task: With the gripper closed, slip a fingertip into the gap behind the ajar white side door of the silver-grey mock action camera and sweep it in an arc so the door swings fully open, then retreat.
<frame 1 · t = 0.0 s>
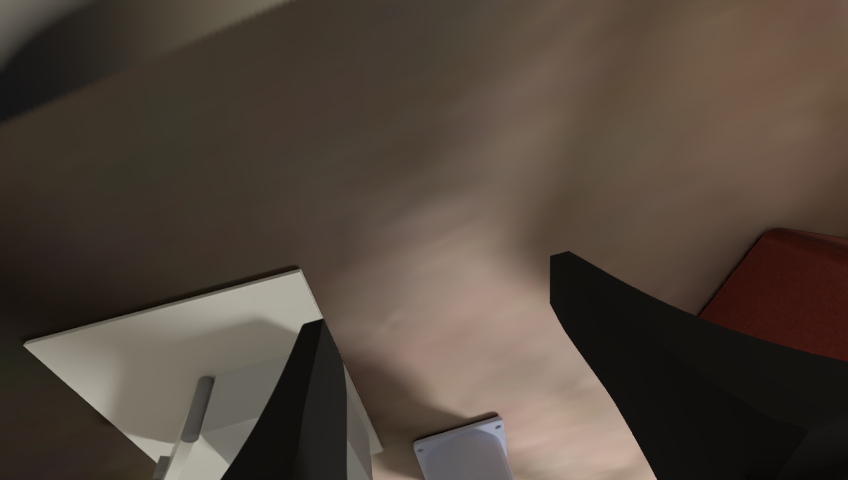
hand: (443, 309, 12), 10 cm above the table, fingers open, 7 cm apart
plant pot: (766, 295, 34), on the table
mat: (244, 406, 28), on the table
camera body: (301, 408, 29), resting on mat
side door: (180, 440, 25), point 2 cm above the table, hinge at 40.0°
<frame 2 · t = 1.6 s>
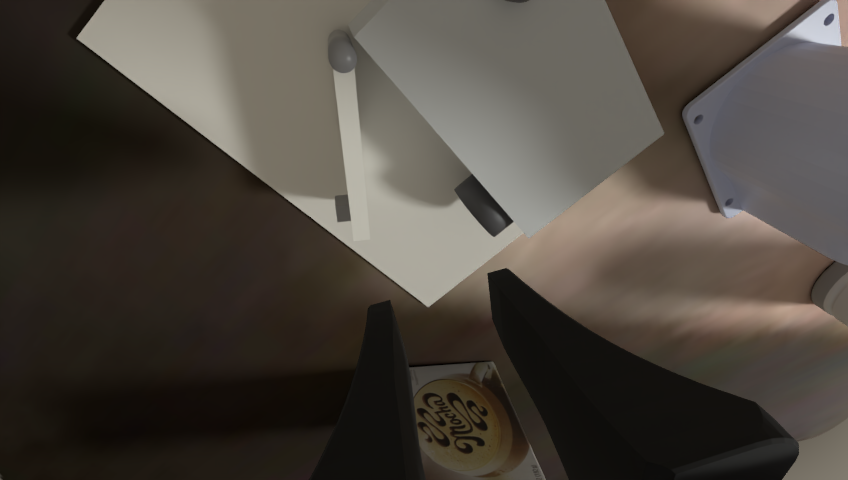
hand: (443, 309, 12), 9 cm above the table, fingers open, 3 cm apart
coffee box: (430, 389, 30), on the table
mat: (412, 99, 18), on the table
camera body: (493, 71, 18), resting on mat
travel mug: (841, 274, 33), on the table
side door: (344, 140, 16), point 2 cm above the table, hinge at 40.0°
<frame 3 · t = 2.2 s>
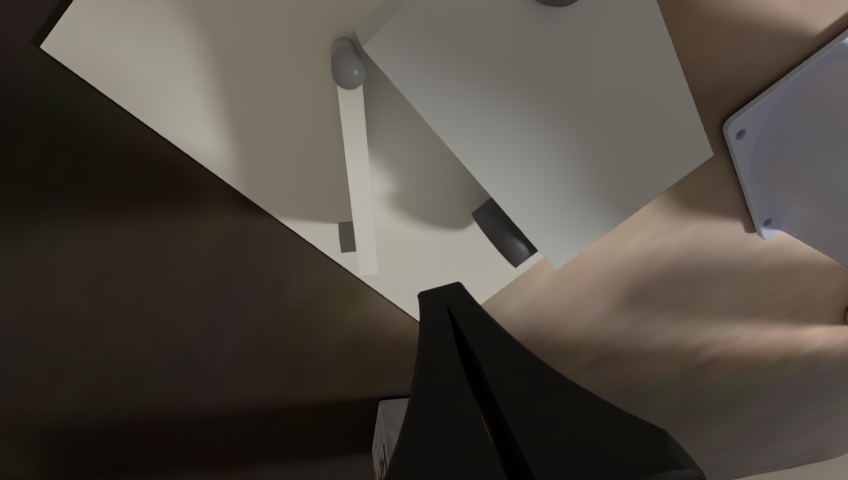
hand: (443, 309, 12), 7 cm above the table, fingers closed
coffee box: (438, 418, 28), on the table
mat: (425, 114, 16), on the table
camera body: (517, 82, 16), resting on mat
side door: (349, 162, 14), point 2 cm above the table, hinge at 40.0°
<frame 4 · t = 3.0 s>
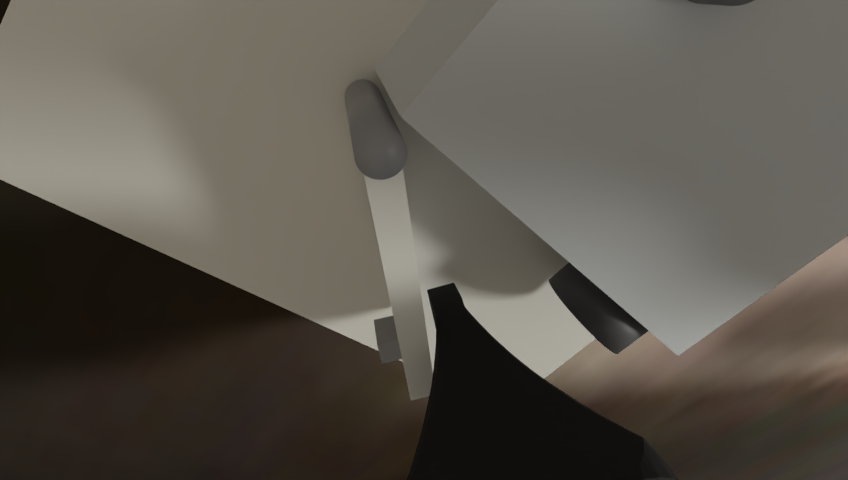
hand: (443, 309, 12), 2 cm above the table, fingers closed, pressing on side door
mat: (478, 162, 12), on the table
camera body: (603, 105, 11), resting on mat
side door: (384, 252, 10), point 2 cm above the table, hinge at 40.9°, touching gripper
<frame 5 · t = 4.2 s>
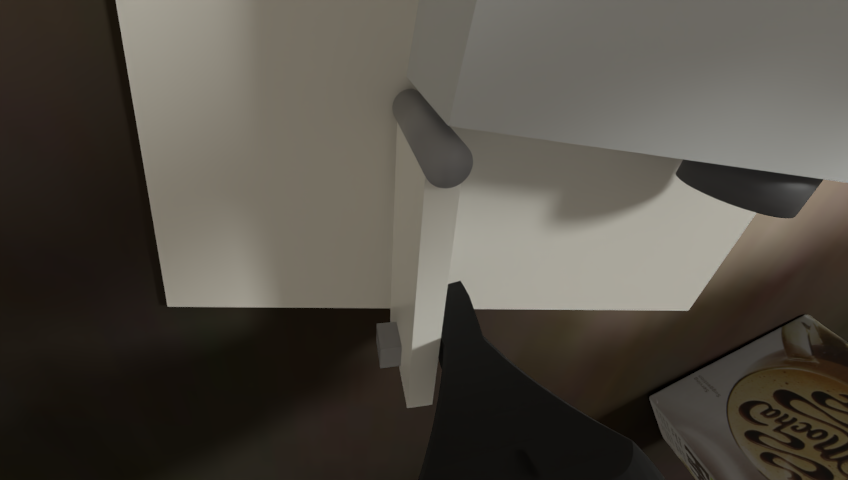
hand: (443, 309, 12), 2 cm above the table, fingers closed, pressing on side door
coffee box: (726, 378, 23), on the table
mat: (543, 98, 11), on the table
side door: (406, 258, 10), point 2 cm above the table, hinge at 82.8°, touching gripper
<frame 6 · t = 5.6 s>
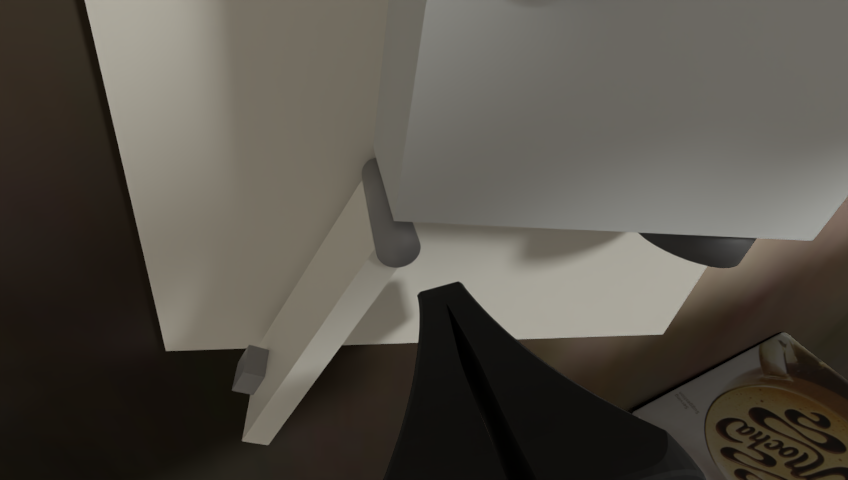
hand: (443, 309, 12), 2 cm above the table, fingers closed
coffee box: (709, 392, 23), on the table
mat: (504, 156, 12), on the table
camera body: (597, 37, 10), resting on mat
side door: (312, 299, 11), point 2 cm above the table, hinge at 114.8°
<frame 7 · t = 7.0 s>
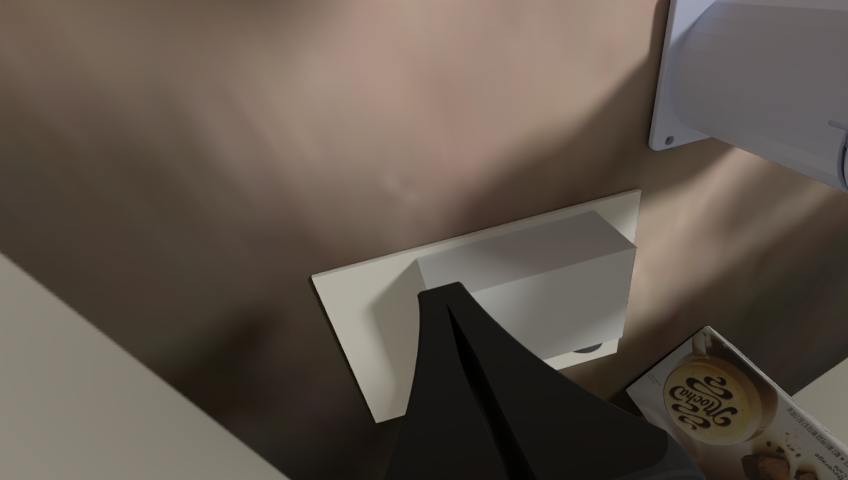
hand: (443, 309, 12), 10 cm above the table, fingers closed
coffee box: (678, 365, 36), on the table
mat: (490, 319, 28), on the table
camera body: (509, 278, 26), resting on mat
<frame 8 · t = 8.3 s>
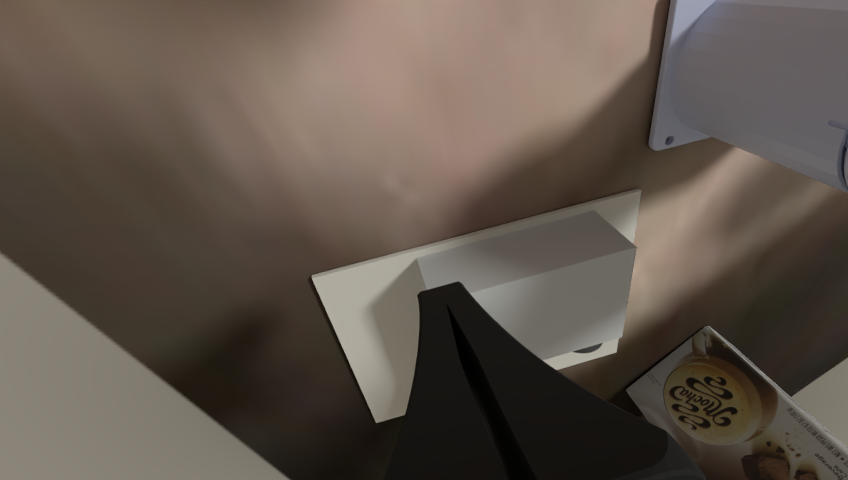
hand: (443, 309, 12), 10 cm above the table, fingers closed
coffee box: (678, 365, 36), on the table
mat: (490, 319, 28), on the table
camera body: (509, 278, 26), resting on mat
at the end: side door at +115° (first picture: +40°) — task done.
